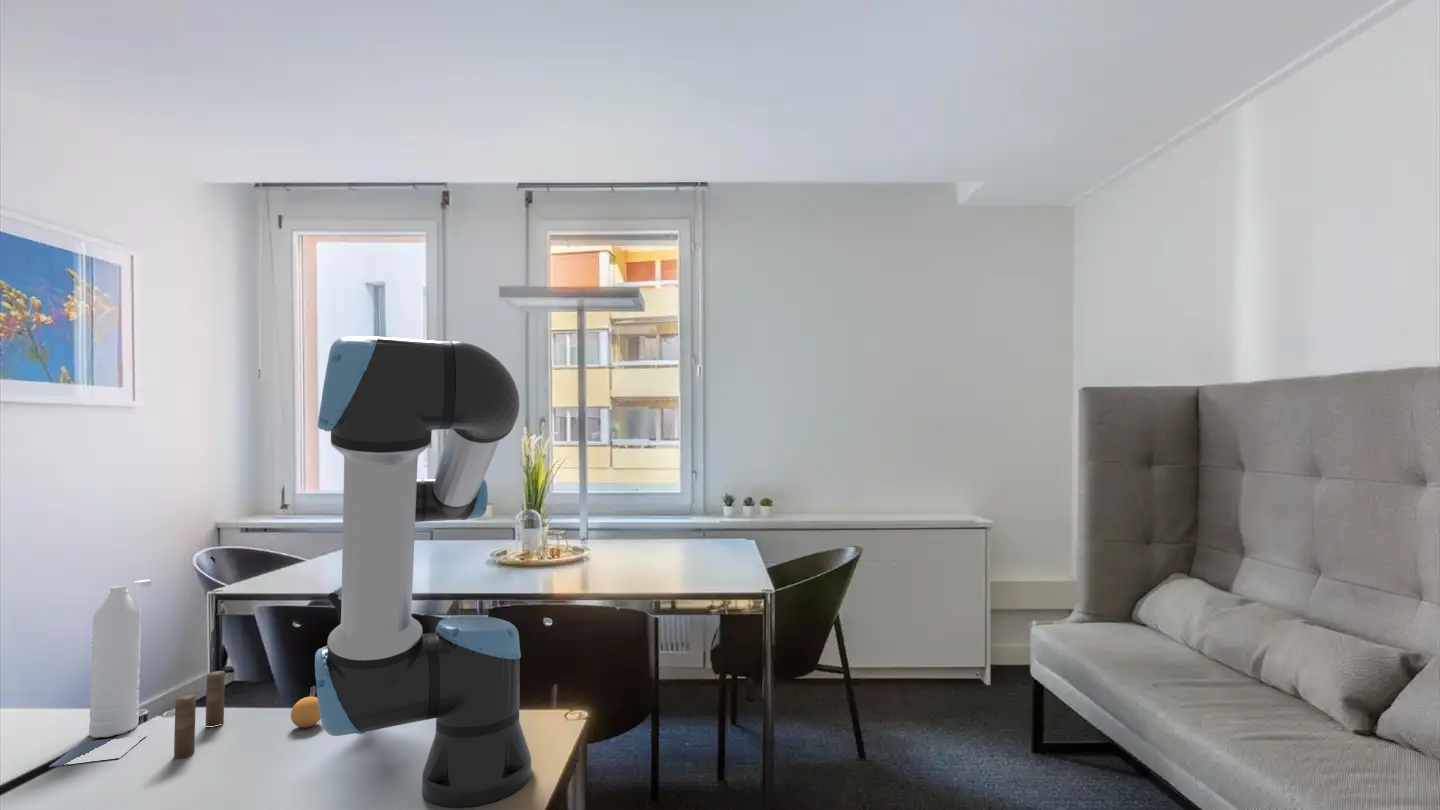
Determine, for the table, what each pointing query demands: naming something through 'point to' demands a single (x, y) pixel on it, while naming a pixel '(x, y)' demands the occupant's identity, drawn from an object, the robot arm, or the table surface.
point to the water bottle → (116, 664)
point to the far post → (215, 698)
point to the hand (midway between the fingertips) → (367, 681)
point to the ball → (306, 712)
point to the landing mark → (79, 751)
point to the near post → (184, 726)
